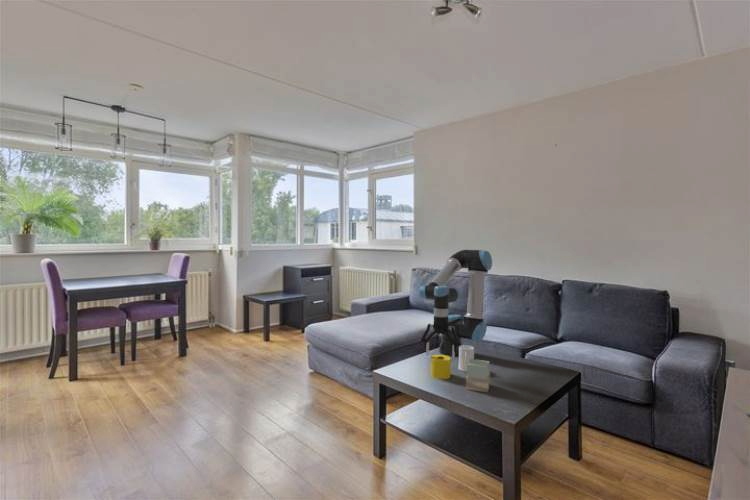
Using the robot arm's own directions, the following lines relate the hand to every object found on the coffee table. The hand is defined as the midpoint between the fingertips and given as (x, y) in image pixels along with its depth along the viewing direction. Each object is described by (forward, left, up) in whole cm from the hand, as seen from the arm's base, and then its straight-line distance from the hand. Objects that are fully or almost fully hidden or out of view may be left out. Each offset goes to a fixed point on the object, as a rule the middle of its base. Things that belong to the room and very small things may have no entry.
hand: (440, 356), depth 193 cm
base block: (+7, +20, -10) cm, 24 cm away
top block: (+7, +20, -4) cm, 22 cm away
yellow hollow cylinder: (0, 0, -11) cm, 10 cm away
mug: (-13, +11, -10) cm, 20 cm away
